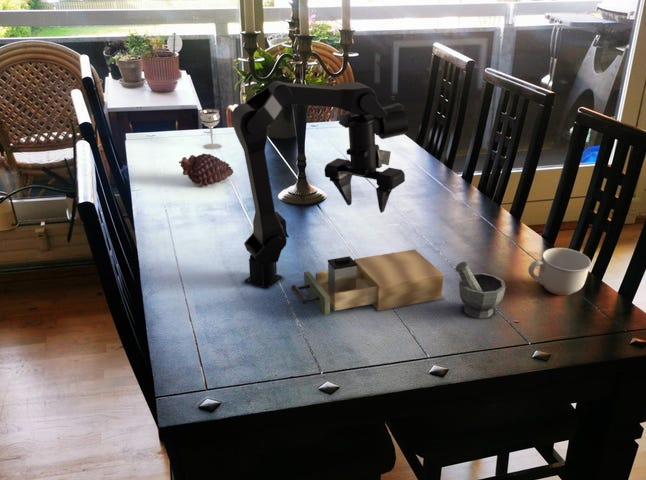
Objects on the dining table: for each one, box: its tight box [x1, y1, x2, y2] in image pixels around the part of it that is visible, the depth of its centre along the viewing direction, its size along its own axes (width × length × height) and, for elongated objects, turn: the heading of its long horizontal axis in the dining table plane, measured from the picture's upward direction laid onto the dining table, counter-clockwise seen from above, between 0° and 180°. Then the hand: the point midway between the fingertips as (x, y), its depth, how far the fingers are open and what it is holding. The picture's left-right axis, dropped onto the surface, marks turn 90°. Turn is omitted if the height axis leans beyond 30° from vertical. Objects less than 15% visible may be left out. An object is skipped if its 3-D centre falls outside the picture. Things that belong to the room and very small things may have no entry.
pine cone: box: [178, 153, 234, 187], centre depth 222 cm, size 18×10×10 cm
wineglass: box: [199, 108, 221, 150], centre depth 253 cm, size 7×7×12 cm
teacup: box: [527, 247, 592, 296], centre depth 166 cm, size 14×11×8 cm
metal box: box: [327, 255, 357, 296], centre depth 159 cm, size 5×4×8 cm
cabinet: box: [353, 249, 445, 312], centre depth 165 cm, size 16×14×6 cm
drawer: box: [290, 266, 378, 316], centre depth 160 cm, size 19×13×4 cm
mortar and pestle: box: [455, 261, 506, 319], centre depth 156 cm, size 11×9×12 cm
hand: (365, 208), depth 171 cm, fingers open, 9 cm apart
